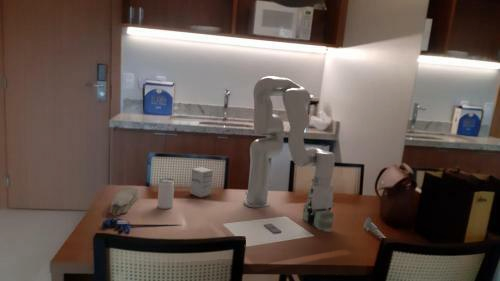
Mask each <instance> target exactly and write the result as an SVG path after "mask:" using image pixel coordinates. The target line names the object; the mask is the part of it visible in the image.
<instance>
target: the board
mask: <svg viewBox="0 0 500 281" xmlns="http://www.w3.org/2000/svg"><path fill="white" fill-rule="evenodd" d="M264 224H273V225H274V226H275V227H276V228H278V229H279V230H281V231H282V232H281V233H276V234H273V233H272V232H271V231H270V230H268V229H267V228H266V227H264ZM222 225H223V226H224V227H225V228H226V229H227V230H228V231H229V233H231V234H232V235H233V236H234V237H235V236H245V237H246V246H245V247H253V246H260V245H266V244H273V243H278V242H279V243H280V242H285V241H291V240H297V239H303V238H312V237H315V235H314V234H312V233H311V232H309V231H308V230H307V229H305V228H304V227H302V226H300V225H299V224H298V223H296V222H295V221H293V219H291V218H289V217H287V216H286V215H285V216H279V217H277V216H276V217H270V218H261V219H260V218H259V219H254V220H253V219H252V220H244V221H237V222H236V221H235V222H227V223H222Z"/></svg>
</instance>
